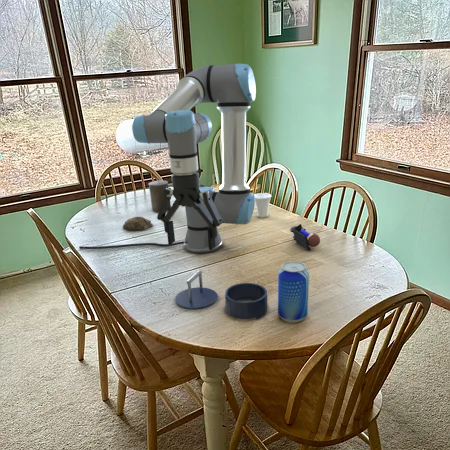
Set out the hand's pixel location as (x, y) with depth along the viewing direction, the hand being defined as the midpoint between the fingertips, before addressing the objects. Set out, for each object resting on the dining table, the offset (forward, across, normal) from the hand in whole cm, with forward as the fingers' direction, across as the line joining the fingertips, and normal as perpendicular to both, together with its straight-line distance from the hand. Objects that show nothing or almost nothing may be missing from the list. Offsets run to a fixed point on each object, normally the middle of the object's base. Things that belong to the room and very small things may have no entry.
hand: (191, 245), depth 130 cm
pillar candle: (+19, -63, +79) cm, 103 cm away
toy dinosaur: (+18, -49, +96) cm, 109 cm away
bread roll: (+19, -59, +53) cm, 82 cm away
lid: (+18, 0, 0) cm, 18 cm away
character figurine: (+19, +19, +54) cm, 60 cm away
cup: (+19, -10, +84) cm, 87 cm away
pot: (+18, +17, 0) cm, 25 cm away
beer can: (+19, +31, +1) cm, 36 cm away
